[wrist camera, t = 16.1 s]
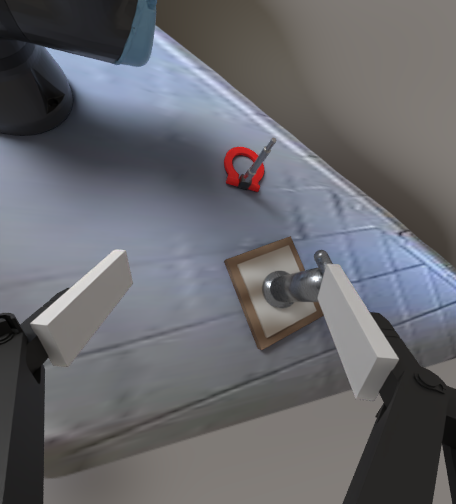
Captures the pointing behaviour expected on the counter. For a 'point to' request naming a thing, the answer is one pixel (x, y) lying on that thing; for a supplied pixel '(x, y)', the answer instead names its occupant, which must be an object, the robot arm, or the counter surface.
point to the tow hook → (254, 171)
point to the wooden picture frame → (251, 296)
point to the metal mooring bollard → (295, 284)
